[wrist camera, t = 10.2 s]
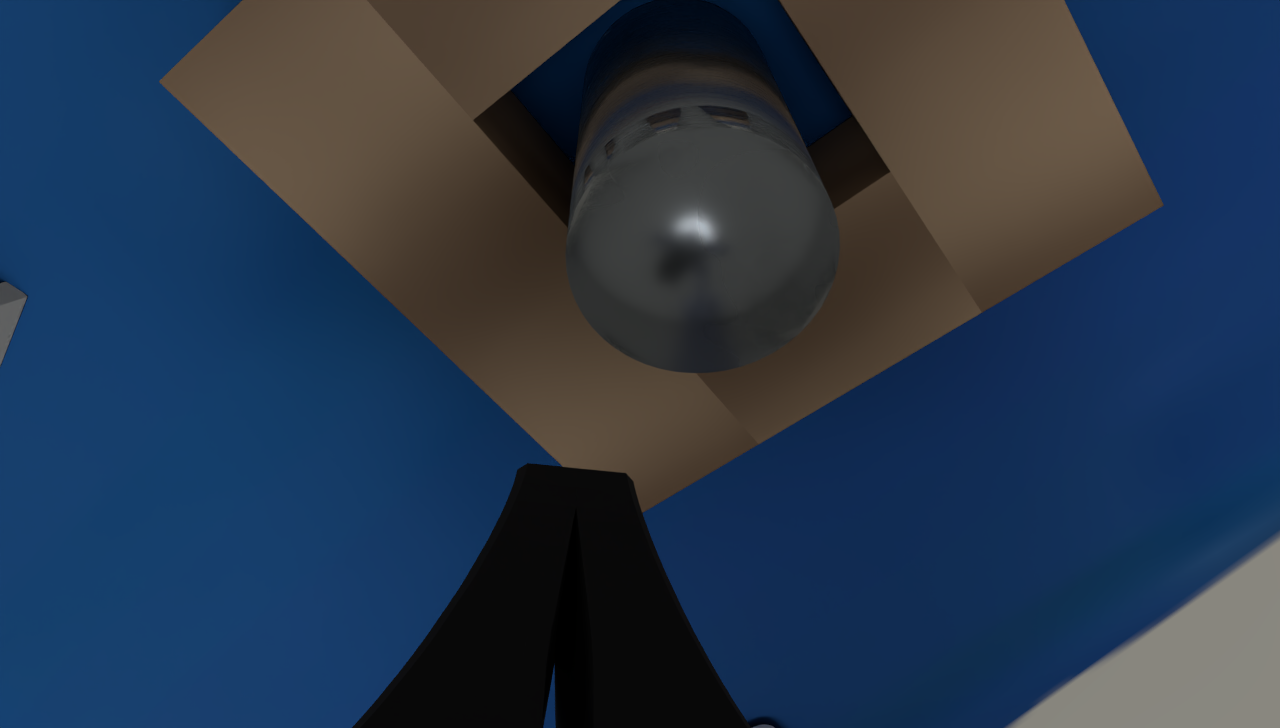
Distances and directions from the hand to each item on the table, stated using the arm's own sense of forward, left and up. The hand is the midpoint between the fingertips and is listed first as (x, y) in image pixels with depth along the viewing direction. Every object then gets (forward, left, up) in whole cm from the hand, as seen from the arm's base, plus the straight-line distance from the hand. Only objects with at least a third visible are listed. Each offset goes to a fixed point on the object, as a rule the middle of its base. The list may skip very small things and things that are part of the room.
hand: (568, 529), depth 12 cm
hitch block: (+1, -3, -9) cm, 10 cm away
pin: (+1, -3, -9) cm, 10 cm away
